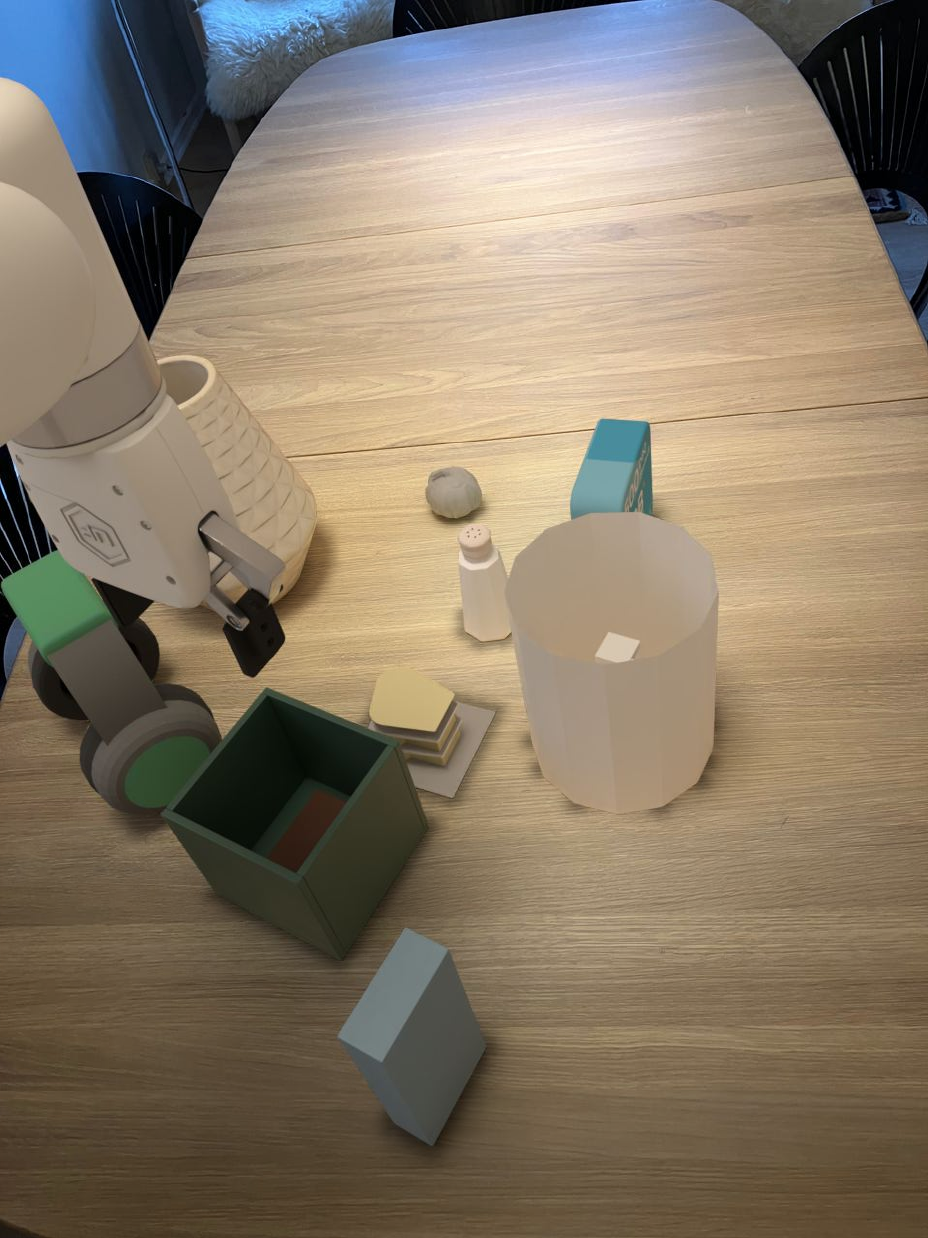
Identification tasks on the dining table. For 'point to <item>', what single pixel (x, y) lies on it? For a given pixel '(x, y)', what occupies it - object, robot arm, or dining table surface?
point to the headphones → (109, 689)
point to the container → (617, 657)
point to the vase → (244, 468)
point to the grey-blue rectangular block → (415, 1035)
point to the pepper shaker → (482, 585)
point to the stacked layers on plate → (428, 727)
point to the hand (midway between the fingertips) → (200, 633)
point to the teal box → (615, 470)
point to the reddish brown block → (306, 831)
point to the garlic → (453, 492)
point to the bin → (274, 796)
